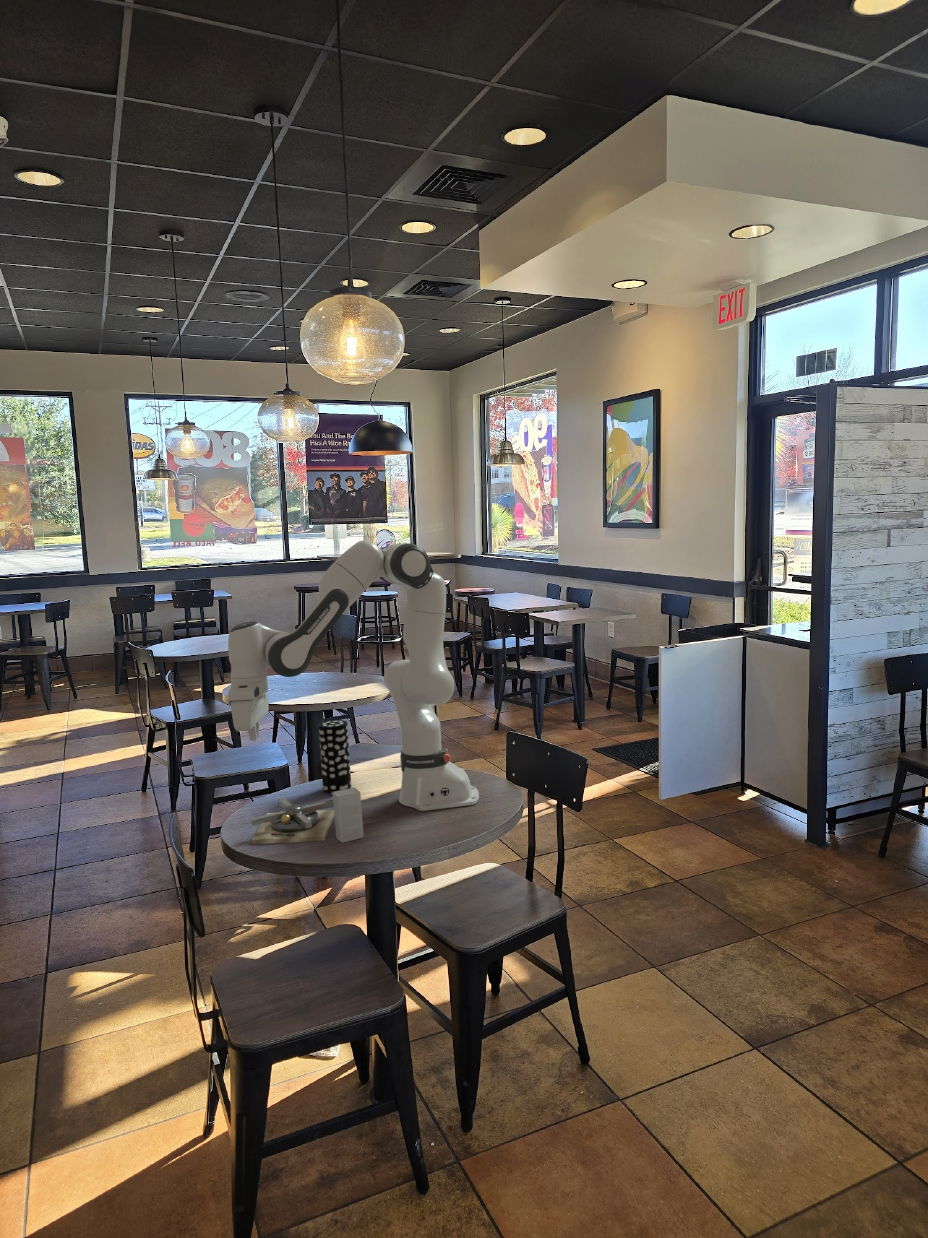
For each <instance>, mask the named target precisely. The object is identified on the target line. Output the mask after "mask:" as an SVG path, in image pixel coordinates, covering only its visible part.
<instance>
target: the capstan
mask: <svg viewBox="0 0 928 1238" xmlns="http://www.w3.org/2000/svg"><path fill="white" fill-rule="evenodd" d="M277 805H279V806H280V807H281V809H283V810H281V811H277V812H271V813H272V814H268V815H267V814H264V815H261V816H260V815H259V816H256V817H251V818H250V824H251V825H252V826H257V825H261V824H262V823H266V822H271V828H272V829H274V830H276V831H280V832H296V831H301V830H305V829H308V828H311V827H313V826H314V825H316V824H317V823H318V813H317V812H316V811H320V810H327V809H330V808H334V804H333V799H329V800H325V801H321V802H317V803H313V804H308V805H307V804H306V805H302V804H299V803H297V804H292V803H290V802H289V801H288V800H287V799H286V798H285V797H278V798H277Z"/></svg>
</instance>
